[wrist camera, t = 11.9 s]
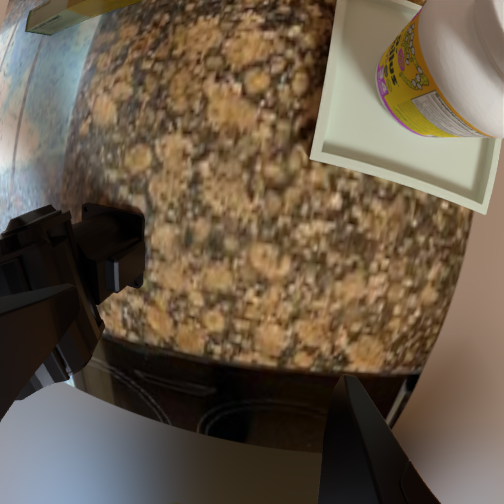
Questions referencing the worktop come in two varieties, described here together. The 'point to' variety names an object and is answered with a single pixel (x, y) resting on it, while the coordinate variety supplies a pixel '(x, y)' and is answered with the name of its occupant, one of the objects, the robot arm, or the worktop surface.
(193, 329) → the worktop surface
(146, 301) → the worktop surface
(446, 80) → the supplement bottle
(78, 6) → the medication box
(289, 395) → the worktop surface
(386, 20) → the tray
